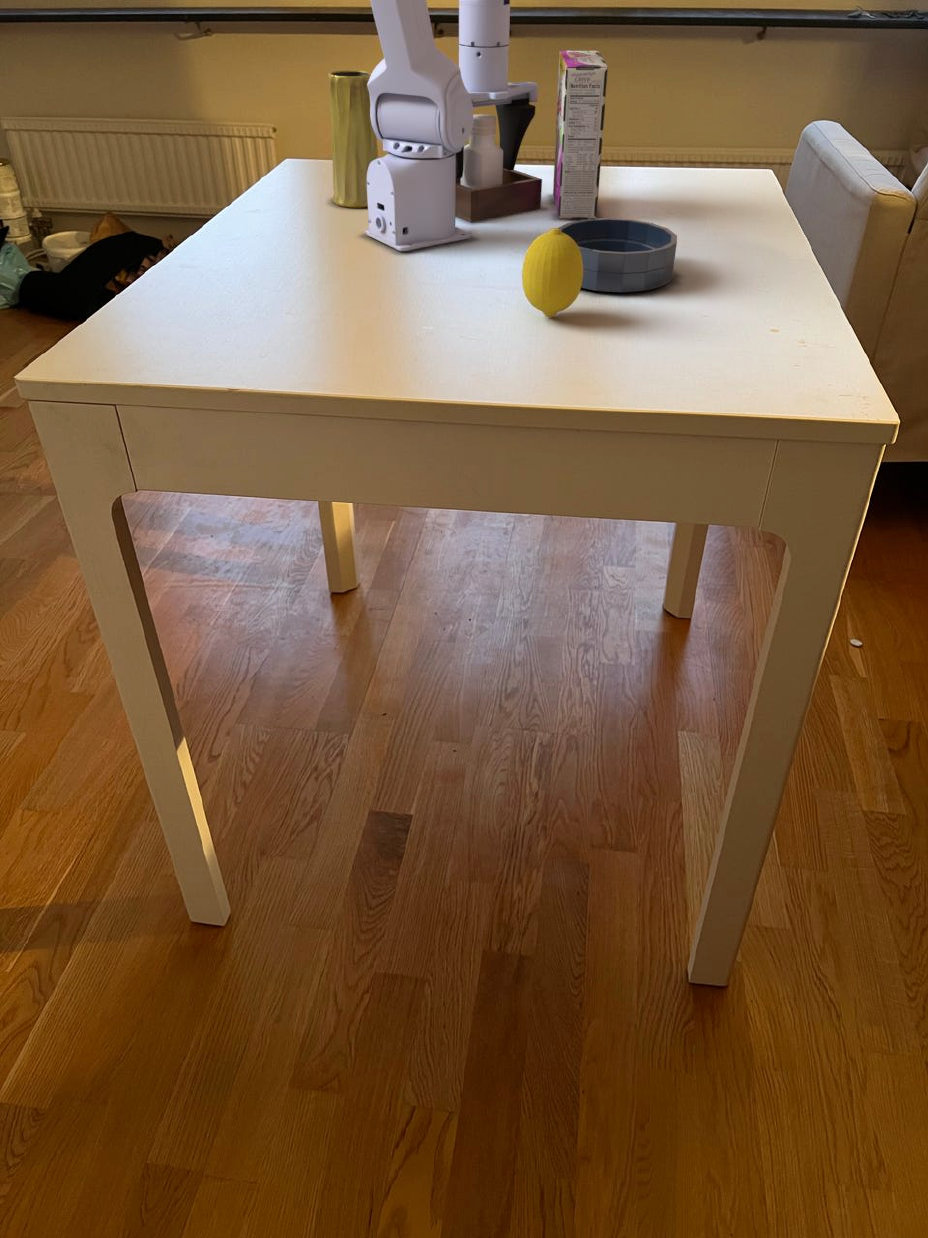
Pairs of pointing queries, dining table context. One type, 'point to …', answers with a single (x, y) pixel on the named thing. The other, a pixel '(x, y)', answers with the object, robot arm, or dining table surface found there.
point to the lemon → (552, 272)
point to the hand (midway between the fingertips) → (481, 172)
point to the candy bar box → (579, 133)
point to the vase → (351, 136)
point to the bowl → (623, 253)
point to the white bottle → (482, 155)
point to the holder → (498, 197)
